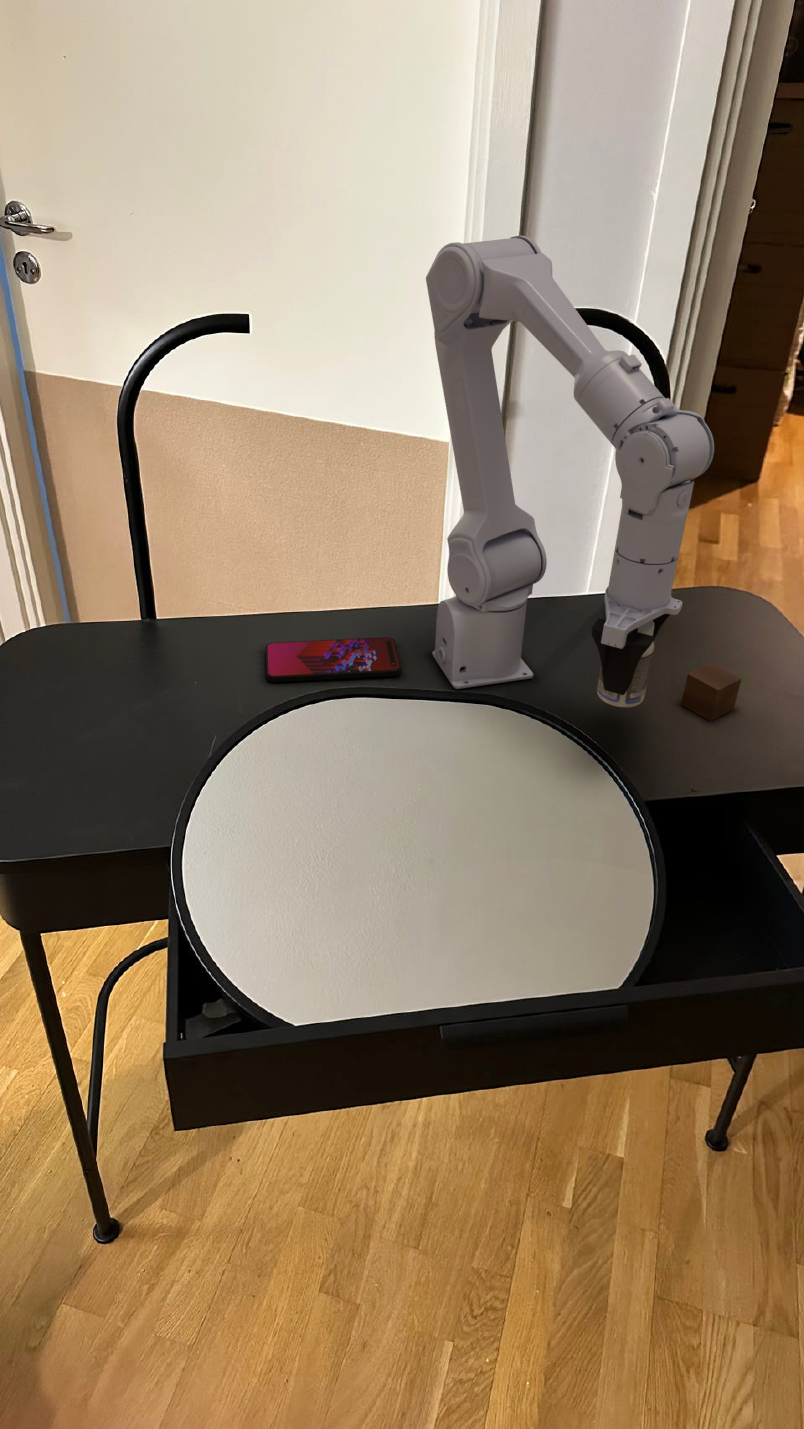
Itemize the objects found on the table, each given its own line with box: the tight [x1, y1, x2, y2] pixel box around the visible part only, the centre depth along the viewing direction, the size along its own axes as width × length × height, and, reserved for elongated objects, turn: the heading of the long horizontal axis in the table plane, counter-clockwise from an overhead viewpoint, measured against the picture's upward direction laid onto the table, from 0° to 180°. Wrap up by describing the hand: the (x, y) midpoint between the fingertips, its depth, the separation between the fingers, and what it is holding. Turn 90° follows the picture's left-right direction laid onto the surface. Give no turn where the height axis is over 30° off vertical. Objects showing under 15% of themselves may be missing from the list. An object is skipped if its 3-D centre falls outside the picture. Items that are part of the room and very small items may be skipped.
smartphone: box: [265, 636, 402, 683], centre depth 111 cm, size 8×1×15 cm
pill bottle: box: [596, 620, 655, 708], centre depth 95 cm, size 5×5×8 cm
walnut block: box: [680, 662, 742, 722], centre depth 105 cm, size 4×4×4 cm
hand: (622, 678), depth 96 cm, fingers closed on pill bottle, 5 cm apart
